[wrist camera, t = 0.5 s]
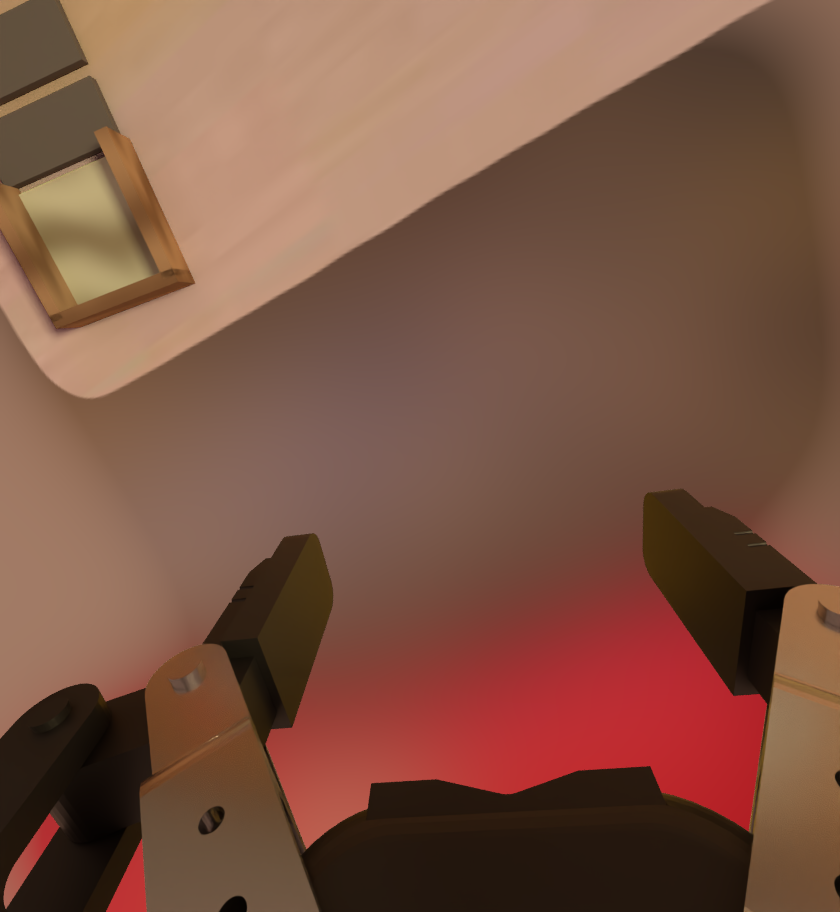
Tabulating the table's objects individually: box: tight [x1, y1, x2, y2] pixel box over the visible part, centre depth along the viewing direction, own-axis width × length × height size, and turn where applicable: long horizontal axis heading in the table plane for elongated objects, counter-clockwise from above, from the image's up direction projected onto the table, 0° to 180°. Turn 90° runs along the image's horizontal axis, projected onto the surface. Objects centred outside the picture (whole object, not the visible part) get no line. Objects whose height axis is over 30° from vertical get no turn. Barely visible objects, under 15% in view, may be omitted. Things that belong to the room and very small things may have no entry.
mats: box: [0, 0, 120, 189], centre depth 32 cm, size 9×10×1 cm
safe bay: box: [0, 127, 195, 329], centre depth 34 cm, size 10×11×2 cm
